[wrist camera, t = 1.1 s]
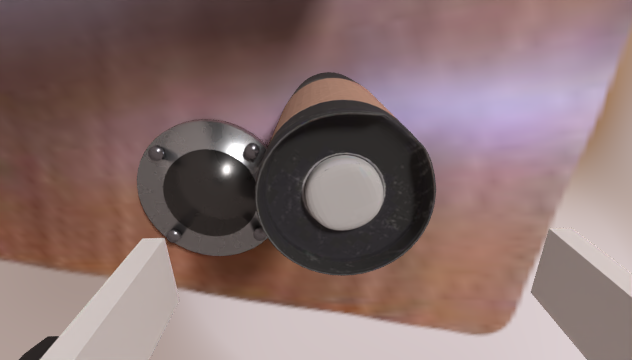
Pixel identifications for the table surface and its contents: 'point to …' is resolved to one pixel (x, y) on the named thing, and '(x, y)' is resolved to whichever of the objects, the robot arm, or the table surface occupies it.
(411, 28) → the table surface
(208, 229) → the fitting
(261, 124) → the table surface
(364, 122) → the travel mug
